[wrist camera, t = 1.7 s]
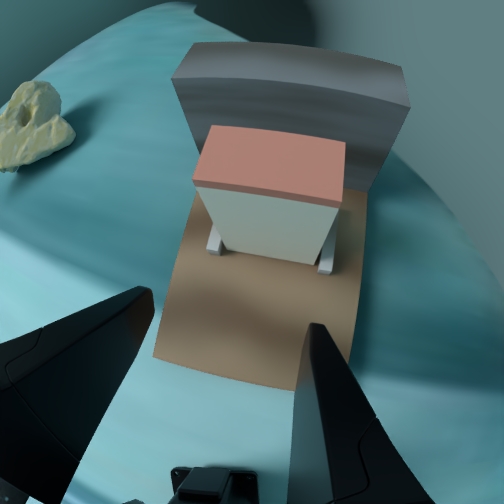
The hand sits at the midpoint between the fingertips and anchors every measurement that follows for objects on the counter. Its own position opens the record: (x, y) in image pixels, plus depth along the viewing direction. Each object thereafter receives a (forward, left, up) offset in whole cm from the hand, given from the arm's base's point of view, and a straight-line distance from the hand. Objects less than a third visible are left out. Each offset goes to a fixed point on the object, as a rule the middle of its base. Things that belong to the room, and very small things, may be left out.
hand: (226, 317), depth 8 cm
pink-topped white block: (+6, -2, -11) cm, 13 cm away
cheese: (+20, +28, -13) cm, 37 cm away
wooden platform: (+6, -2, -13) cm, 14 cm away
